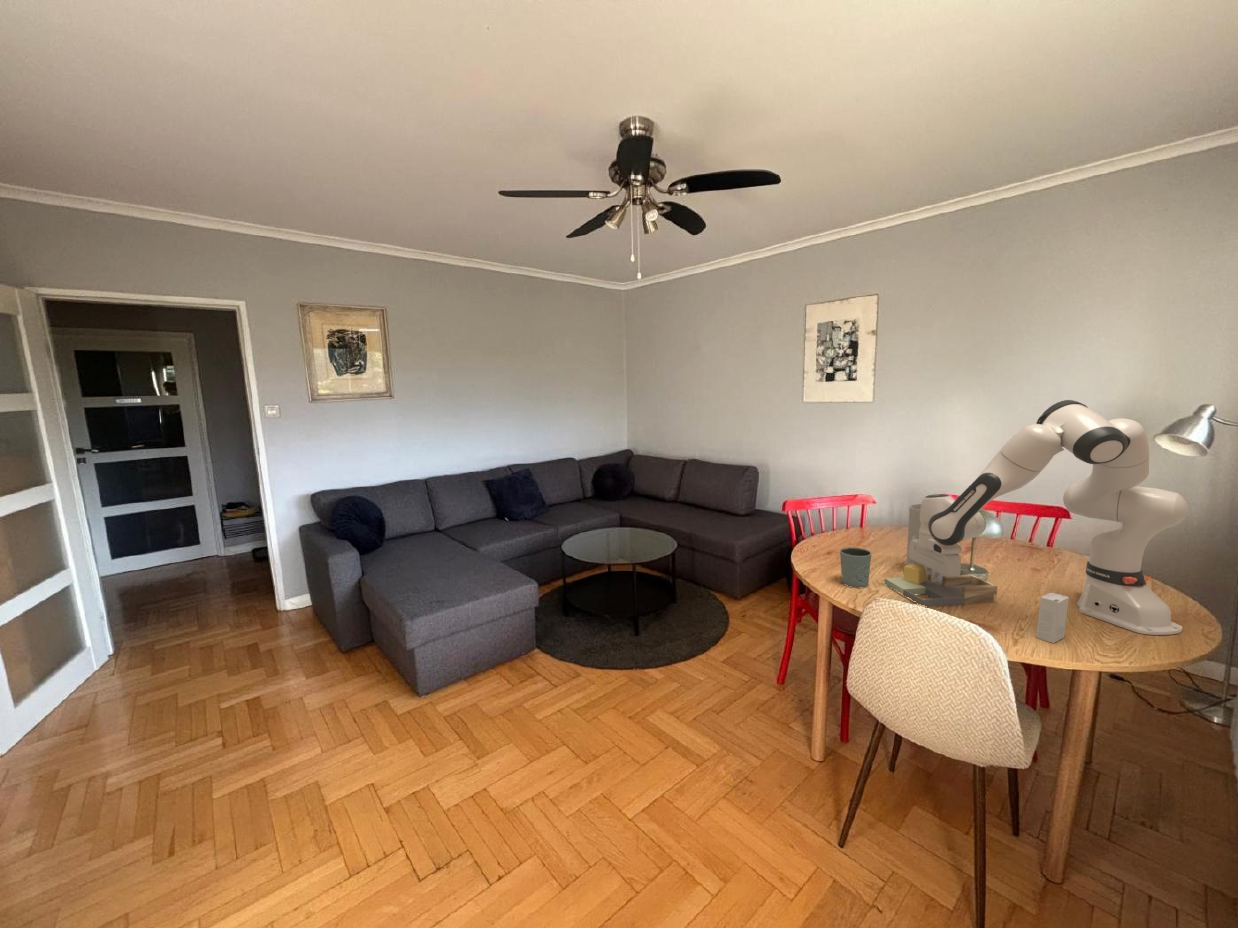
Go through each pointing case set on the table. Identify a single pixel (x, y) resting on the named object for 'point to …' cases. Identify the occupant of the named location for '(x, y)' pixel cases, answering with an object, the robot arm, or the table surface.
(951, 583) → the brown wooden open box
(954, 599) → the grey tray
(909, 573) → the ochre block
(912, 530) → the cylinder vase
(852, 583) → the teal cup
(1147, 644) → the table surface
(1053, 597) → the skincare box
